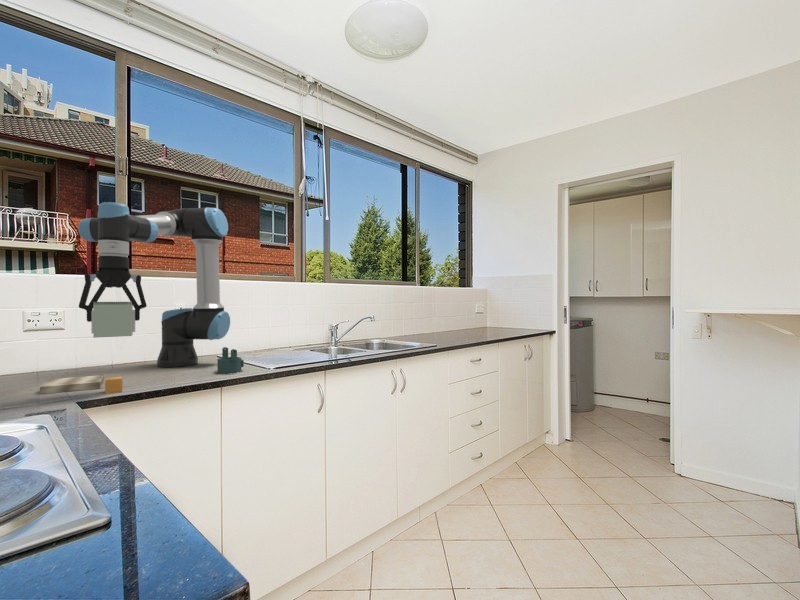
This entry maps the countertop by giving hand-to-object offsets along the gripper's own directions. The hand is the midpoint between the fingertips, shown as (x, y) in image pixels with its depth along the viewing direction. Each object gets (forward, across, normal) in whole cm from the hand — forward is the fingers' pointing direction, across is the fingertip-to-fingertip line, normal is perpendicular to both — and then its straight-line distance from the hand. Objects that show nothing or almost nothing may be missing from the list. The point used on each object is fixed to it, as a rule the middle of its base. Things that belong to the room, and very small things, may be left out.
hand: (114, 332), depth 122 cm
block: (+18, 0, 0) cm, 18 cm away
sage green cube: (+1, 0, 0) cm, 1 cm away
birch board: (+17, -11, +14) cm, 25 cm away
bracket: (+18, +35, +18) cm, 43 cm away
